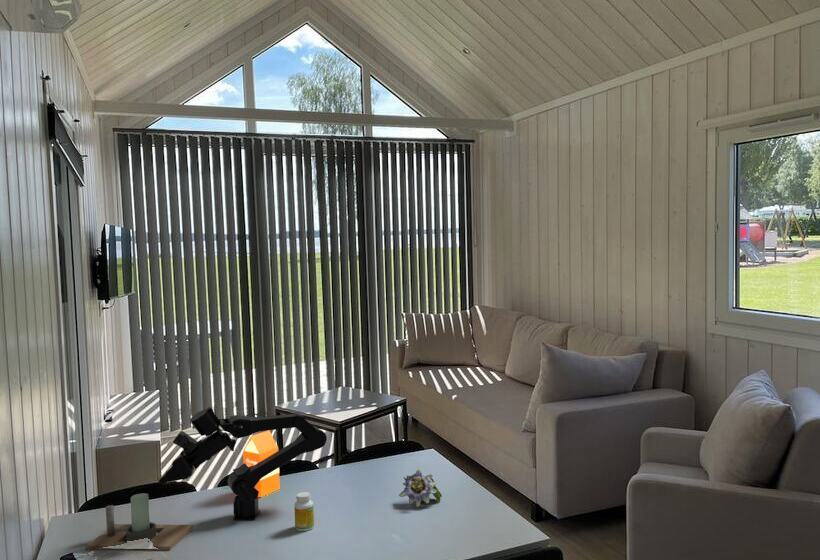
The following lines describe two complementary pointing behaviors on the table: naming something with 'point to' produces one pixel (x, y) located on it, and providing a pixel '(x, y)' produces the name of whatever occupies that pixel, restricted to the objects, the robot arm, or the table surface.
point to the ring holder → (139, 534)
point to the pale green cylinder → (140, 513)
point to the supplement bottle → (304, 512)
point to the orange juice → (256, 452)
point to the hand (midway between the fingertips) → (162, 478)
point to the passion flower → (420, 488)
